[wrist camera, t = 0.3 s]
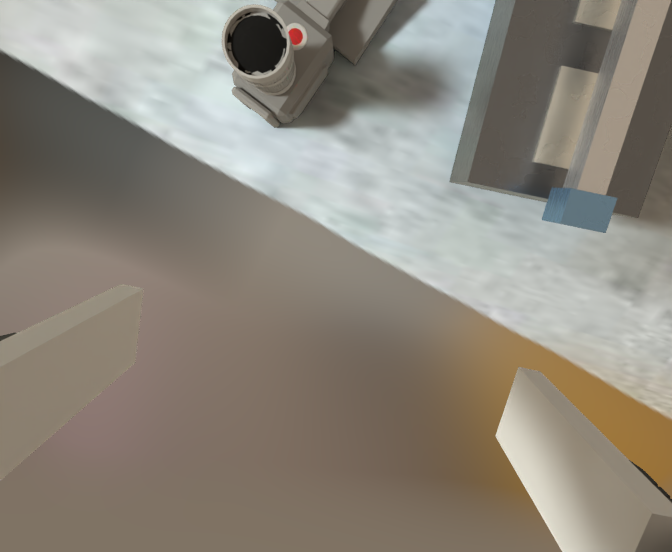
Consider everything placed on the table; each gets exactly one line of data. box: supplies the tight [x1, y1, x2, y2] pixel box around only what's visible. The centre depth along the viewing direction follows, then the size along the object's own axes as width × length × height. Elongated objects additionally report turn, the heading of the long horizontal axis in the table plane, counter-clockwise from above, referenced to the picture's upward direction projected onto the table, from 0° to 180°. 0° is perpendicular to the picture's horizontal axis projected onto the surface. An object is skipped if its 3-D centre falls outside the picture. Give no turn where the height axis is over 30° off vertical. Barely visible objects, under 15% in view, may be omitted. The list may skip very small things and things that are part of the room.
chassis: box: [450, 0, 672, 218], centre depth 34 cm, size 22×14×6 cm, turn 168°
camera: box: [222, 0, 397, 128], centre depth 32 cm, size 9×12×15 cm
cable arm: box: [542, 0, 671, 233], centre depth 28 cm, size 23×3×3 cm, turn 168°
